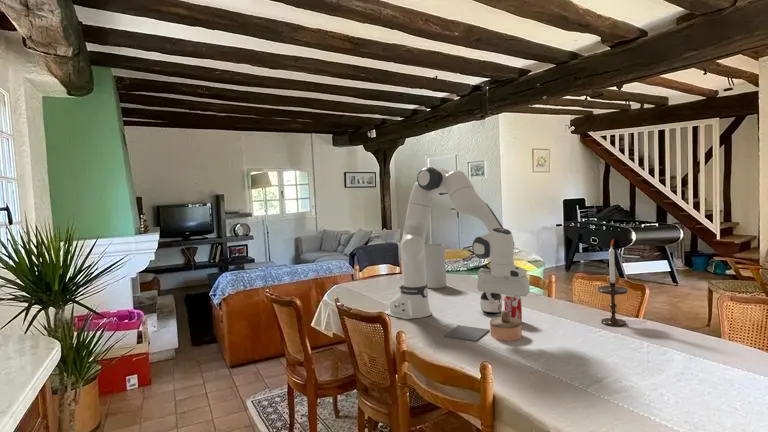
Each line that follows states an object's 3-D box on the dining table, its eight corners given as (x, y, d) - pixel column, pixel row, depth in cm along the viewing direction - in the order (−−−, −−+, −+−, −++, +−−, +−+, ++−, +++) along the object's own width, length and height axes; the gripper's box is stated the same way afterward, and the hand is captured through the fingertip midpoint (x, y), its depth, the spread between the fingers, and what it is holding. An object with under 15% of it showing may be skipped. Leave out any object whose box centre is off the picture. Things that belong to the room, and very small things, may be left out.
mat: (443, 336, 181) (443, 335, 181) (458, 326, 193) (458, 325, 193) (476, 341, 173) (476, 340, 173) (489, 330, 185) (489, 329, 185)
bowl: (487, 338, 176) (487, 325, 176) (497, 329, 185) (497, 317, 185) (515, 342, 170) (515, 329, 170) (524, 333, 179) (524, 321, 179)
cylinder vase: (424, 289, 264) (422, 247, 262) (426, 284, 276) (423, 244, 275) (446, 288, 262) (443, 246, 260) (446, 283, 274) (444, 243, 273)
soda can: (522, 324, 190) (521, 296, 189) (505, 324, 191) (504, 296, 191) (521, 319, 197) (520, 292, 196) (504, 319, 198) (503, 292, 198)
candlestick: (631, 322, 185) (629, 237, 183) (624, 329, 177) (621, 241, 175) (603, 317, 192) (601, 236, 190) (595, 324, 184) (592, 240, 182)
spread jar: (492, 316, 203) (491, 291, 203) (472, 312, 212) (471, 288, 211) (507, 310, 211) (506, 286, 211) (487, 306, 220) (486, 283, 219)
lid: (485, 325, 176) (484, 313, 175) (496, 317, 186) (495, 306, 185) (515, 329, 169) (515, 317, 169) (525, 320, 179) (524, 309, 179)
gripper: (474, 269, 179) (475, 303, 180) (525, 273, 167) (526, 310, 168) (480, 266, 184) (481, 299, 185) (530, 270, 172) (531, 306, 173)
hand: (503, 304), depth 177 cm, fingers open, 8 cm apart
